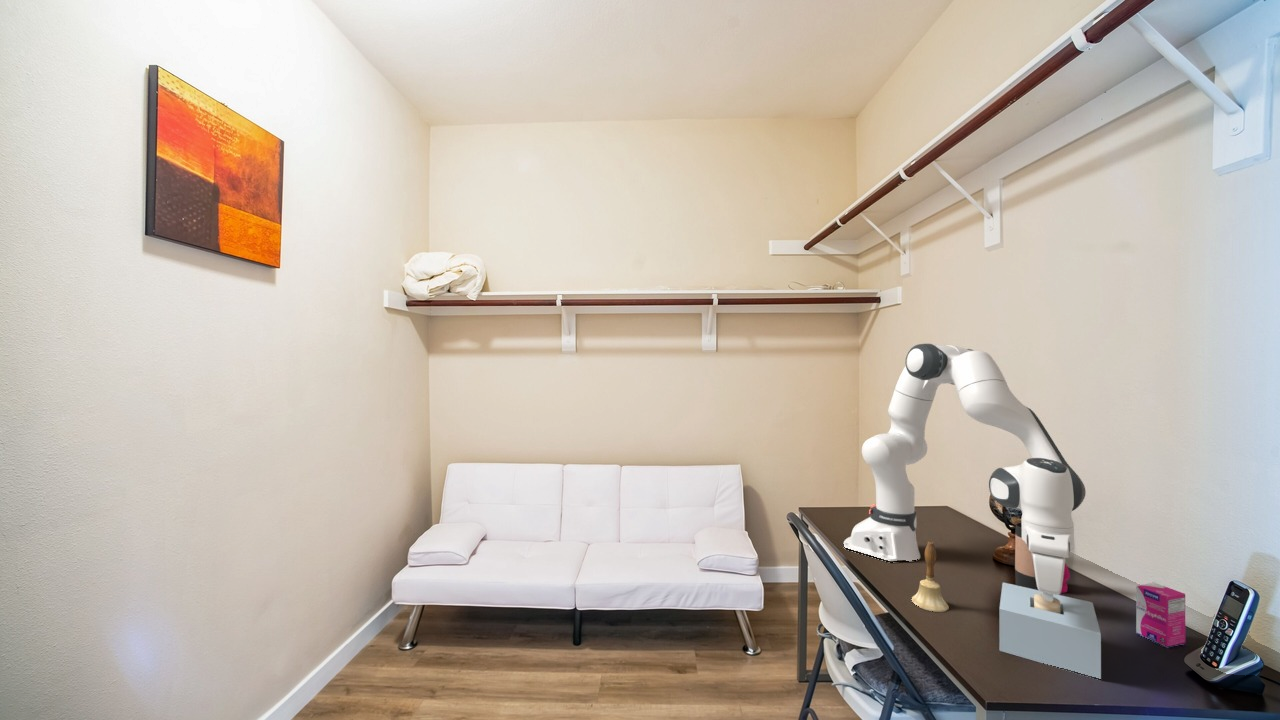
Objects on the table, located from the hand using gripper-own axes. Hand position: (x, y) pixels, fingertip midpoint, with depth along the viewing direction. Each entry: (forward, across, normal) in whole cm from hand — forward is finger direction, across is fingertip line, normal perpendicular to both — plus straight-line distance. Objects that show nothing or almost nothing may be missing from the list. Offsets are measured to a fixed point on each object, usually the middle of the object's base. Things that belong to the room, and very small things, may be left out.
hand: (1047, 598), depth 107 cm
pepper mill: (+11, -37, +2) cm, 39 cm away
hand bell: (+11, -6, -23) cm, 26 cm away
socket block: (+10, 0, 0) cm, 11 cm away
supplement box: (+11, -19, +20) cm, 29 cm away
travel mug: (+11, -21, -2) cm, 24 cm away
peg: (+8, 0, 0) cm, 8 cm away
